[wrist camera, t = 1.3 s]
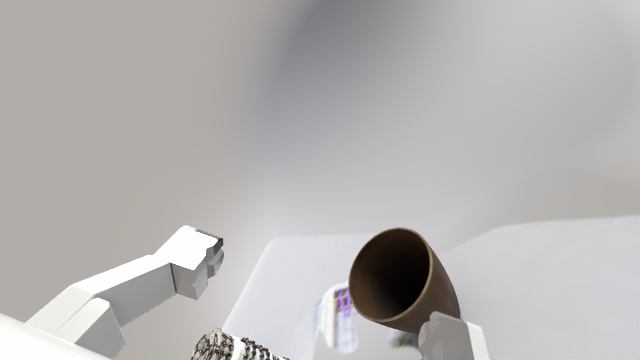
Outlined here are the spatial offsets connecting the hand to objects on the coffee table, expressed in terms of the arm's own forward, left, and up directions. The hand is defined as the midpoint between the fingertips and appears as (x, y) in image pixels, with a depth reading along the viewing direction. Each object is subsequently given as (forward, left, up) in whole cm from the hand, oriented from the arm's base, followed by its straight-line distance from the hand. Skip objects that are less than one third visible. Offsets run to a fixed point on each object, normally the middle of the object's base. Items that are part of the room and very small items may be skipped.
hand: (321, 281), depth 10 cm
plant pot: (+21, -10, -42) cm, 48 cm away
